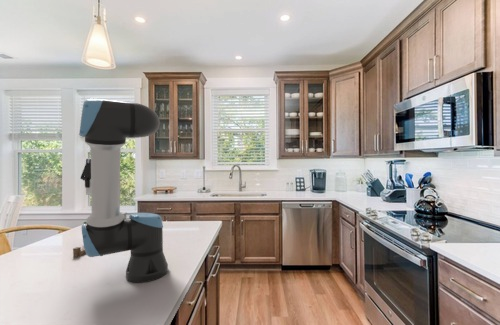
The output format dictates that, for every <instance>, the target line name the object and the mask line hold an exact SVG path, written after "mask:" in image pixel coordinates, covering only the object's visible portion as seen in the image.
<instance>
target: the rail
mask: <svg viewBox="0 0 500 325" xmlns="http://www.w3.org/2000/svg"><path fill="white" fill-rule="evenodd" d="M72 250H73V252H72V255H73V256H72V257H73V258H79V257H82V256H84V255H87V254H86V252H85V248H84V247H83V248H82V249H81V247H80V246H76V247H74V248H72Z"/></svg>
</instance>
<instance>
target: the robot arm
mask: <svg viewBox="0 0 500 325" xmlns="http://www.w3.org/2000/svg"><path fill="white" fill-rule="evenodd" d="M160 124H161V122H160V118H159V116H158V114H157V112H155V110H153V109H152V108H150V107H149V106H147V105H146V104H145V105H144V104H141V103H137V102H129V101H128V102H126V101H117V100H108V99H99V98H98V99H97V98H94V99H93V98H90V99H89V98H88V99H85V100H84V102H83V105H82V110H81V117H80V124H79V131H78V132H79V134H78V135H79V137H82V138H84V143H85V144H86V145H88V146H89V147H90V152H89V153H90V158H86V160H85V164H84V168H83V170H82V172H81V175H80V180H82V181H84V188H85V196H87V195H89V196H90V199H91V200H90V201H91V215H89V216H88V217H87V218H86V221H85V222H87V223H86V224H84V223H83V224H82V225H81V235H82V242H83V249H84V248H85V252H86V254H85V255H86V256H88V257H89V258H95V257H103V256H107V255H111V254H112V255H113V254H117V253H122V252H127V251H130V256H129V261H128V263H127V267H126V269H125V270H126V271H125V279H126V280H127V281H128V282H131V283H145V282H151V281H156V280H157V279H160V278H162V277H164V276H165V275H166V274H168V271H169V264H168V262H167V259H166V256H165V254H164V248H163V247H164V246H163V245H164V244H163V242H164V241H163V239H164V237H163V233H164V232H163V228H164V226H163V224H164V223H163V218H162V216H161V215H159V214H158V213H153V212H134V213H130V214H129V217H128V218H126V219H124V215H123V214H122V213H123V212H121V209H120V208H121V207H120V206H121V148H122V147H123V146H124V145H126V142H127V140H126V139H130V138H131V139H133V138H134V139H135V138H137V139H138V138H146V137H149V136H152V135H154V134H155V133H157V132H158V130H159V128H160V126H161V125H160ZM120 212H121V213H120Z"/></svg>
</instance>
